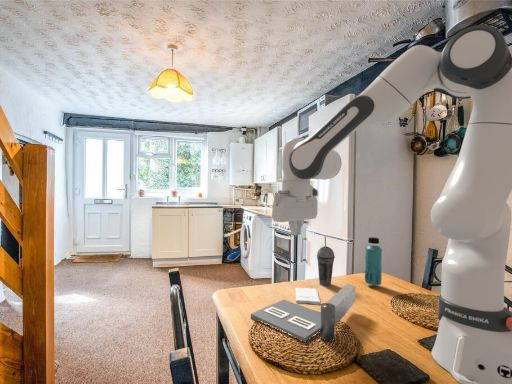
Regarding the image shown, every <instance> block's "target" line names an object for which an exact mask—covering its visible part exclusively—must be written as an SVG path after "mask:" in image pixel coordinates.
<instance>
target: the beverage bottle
mask: <svg viewBox="0 0 512 384" xmlns="http://www.w3.org/2000/svg"><path fill="white" fill-rule="evenodd" d="M367 241H368V243H369V244H368V245H366V247H365V254H364V255H365V258H364V262H365V263H364V264H365V265H364V281H365V284H368V285H372V286H380V285H382V277H383V275H382V251H383V249H382V248H381V246H379V245H378V244H380V239H379V237H372V236H371V237H368V240H367ZM376 244H377V245H376Z"/></svg>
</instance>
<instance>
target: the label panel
mask: <svg viewBox="0 0 512 384" xmlns="http://www.w3.org/2000/svg"><path fill="white" fill-rule="evenodd" d="M250 319H252V320H254V321H256V320H260V321H263V322H265V323H268V324H270V325H272V326H274V327H277V328H279V329H281V330H283V331H285V332H287V333H289V334H291V335H293V336H294V337H296V338H298V339H300V340H302V341H304V342H305V341H306V340H308V339H309V338H311V337H312V336H313V335H314V334H316V333H317V332H318V331H319V330H320V322H321V311H317V310H314V309H312V308H309V307H305V306H303V305H300V304H299V303H296V302H292V301H288V300H286V299H282V300H279V301H277V302H275V303H273V304H270V305H268V306H266V307H264V308H261V309H259V310H256V311H254V312H252V313H250ZM312 338H313V337H312ZM312 338H311V339H312ZM302 341H301V342H302ZM308 341H309V340H308ZM304 342H303V343H304ZM305 343H306V342H305Z"/></svg>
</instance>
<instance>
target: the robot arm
mask: <svg viewBox="0 0 512 384" xmlns="http://www.w3.org/2000/svg"><path fill="white" fill-rule="evenodd" d="M431 90H434V91H435V92H437V93H439V94H443V95H444V96H448V97H450V98H453V99H458V100H459V99H460V100H467V99H471V100H472V110H471V114H470V118H469V121H468V124H467V127H466V129H465V133H464V138H463V140H462V144H461V148H460V151H459V154H458V157H457V160H456V162H455V164H454V166H453V169H452V170H451V172H450V174H449V176H448V178H447V180H446V182H445V185H444V187H443V188H442V190H441V193H440V195H439V197H438V198H437V200H436V201H434V204H433V205H432V206H431V210H430V220H431V221H430V222H431V223H432V226H433V227H434V229H435V230H436V231H437V232H438V233H439V234H440V235H442V236H443V237H445V238H447V239H448V242H447V245H446V249H445V252H444V256H443V258H442V261H441V282H440V283H441V284H440V295H438V300H437V315H438V321H439V322H438V328H437V333H436V338H435V342H434V345H433V347H432V349H431V357H432V359H434V361H435V363H437V364H438V365H439V366H441V368H443V369H444V370H446V371H447V372H448V373H450V374H451V375H452V377H453V378H454V379H455V381H457V382H458V383H459V384H512V310H509V309H508V308H507V307H505V306H504V305H505V270H506V263H507V258H508V250H509V243H510V233H511V227H512V226H511V225H512V224H511V223H512V222H511V221H512V211H511V207H510V206H509V204H508V201H507V200H508V199H509V197H510V194H511V192H512V54H511V51H510V49H509V46H508V42H507V40H506V38H505V36H504V35H503V33H502V32H501V31H500V30H499V29H497V28H496V27H495V26H492V25H488V24H478V25H472V26H469V27H466V28H464V29H462V30H460V31H459V32H458V33H456V34H455V35H453V36H452V37H451V38H450V39H449V40H448V42H447V43H446V44H445V46H444V47H443V50H442V51H437V50H436V49H434V48H432V47H431V46H428V45H423V44H420V45H418V44H417V45H415V46H412V47H410V48H409V49H407V50H405V52H403V53H402V54H401V55H400V56H398V57H397V58H396V59H395V60H394V61H393V62H391V63H390V64H389V65H388V66H387V67H386V68H385V69H384V70H383V71H382V72H381V73H380V74H379V75H378V76H377V77H376V78H375V79H374V80H373V81H372V82H371V83H370V84H369V85H368V86H367V87H366V88H365V89H364V90H363V91H361V93H359V94H358V95H357V96H356V97H354V98H353V99H352V100H350V101H349V102H348V103H346V104H345V105H344V106H343V107H342V108H340V109H339V110H338V111H337V112H336V113H335V114H333V116H332V117H331V118H329V120H328V121H326V122H325V123H324V124H323V125H322V126H321V127H320V128H318V130H317V131H316V132H315V133H313V134H311V135H310V136H309V137H307V138H306V137H299V138H297V137H296V138H292V139H289V140H288V141H286V142H285V144H284V146H283V149H282V156H281V157H282V160H281V162H282V164H281V169H282V172H283V177H282V180H281V190H280V189H279V190H278V191H277V192H276V194H275V195H274V199H273V202H272V210H271V211H272V213H271V218H272V221H273V222H276V223H287V222H288V226H289V229H290V234H291V236H299V235H301V234H302V227H303V225H304V220H306V221H307V220H314V219H316V218H317V216H318V209H319V208H318V207H319V205H318V198H317V197H318V196H319V190H318V189H316V188H315V187H313V186H312V185H311V179H312V180H330V179H333V178H335V177H336V176H337V175H338V174H339V173H340V171H341V168H342V158H341V156H340V154H339V153H338V152H337V151H336V150H335V149H336V148H337V147H339V145H340V144H341V143H343V142H344V141H345V140H346V139H347V138H349V137H350V135H352V134H353V133H354V132H356V131H358V130H360V129H362V128H366V127H370V126H379V125H380V126H382V125H385V124H386V125H387V124H389V123H391V122H393V121H394V120H396V119H397V118H398V117H400V116H402V114H403V113H405V112H406V111H407V110H408V109H410V107H411V106H412V105H414V104H415V103H416V102H417V101H418V99H420V98H421V97H422V96H424V95H425V93H427V92H428V91H429V92H430V91H431Z"/></svg>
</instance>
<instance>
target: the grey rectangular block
mask: <svg viewBox="0 0 512 384" xmlns="http://www.w3.org/2000/svg"><path fill="white" fill-rule="evenodd" d="M356 289H357V288H356V286H354V285H351V284H345V285H344V286H342V288H341V289H339V290H338V292H337V293H335V294H334V295H333V296H332V297H331V298H330V299H329V300H328V301H326V302H323V303H320V313H321V322H320V333H319V334H320V335H319V338H320V337H321V338H322V339H321V338H320V339H321V340H323V339H325V340H333V339H334V338H335V337H336V335H335V330H336V326H337V325H338V324H339V322H340V321H341V320H342V319H343V318H344V316H345V315H346V313H348V312H349V310H350V309H351V308H352V307H353V306H354V304H355V303H356ZM325 340H324V341H325ZM334 340H335V339H334ZM334 340H333V341H334Z"/></svg>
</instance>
